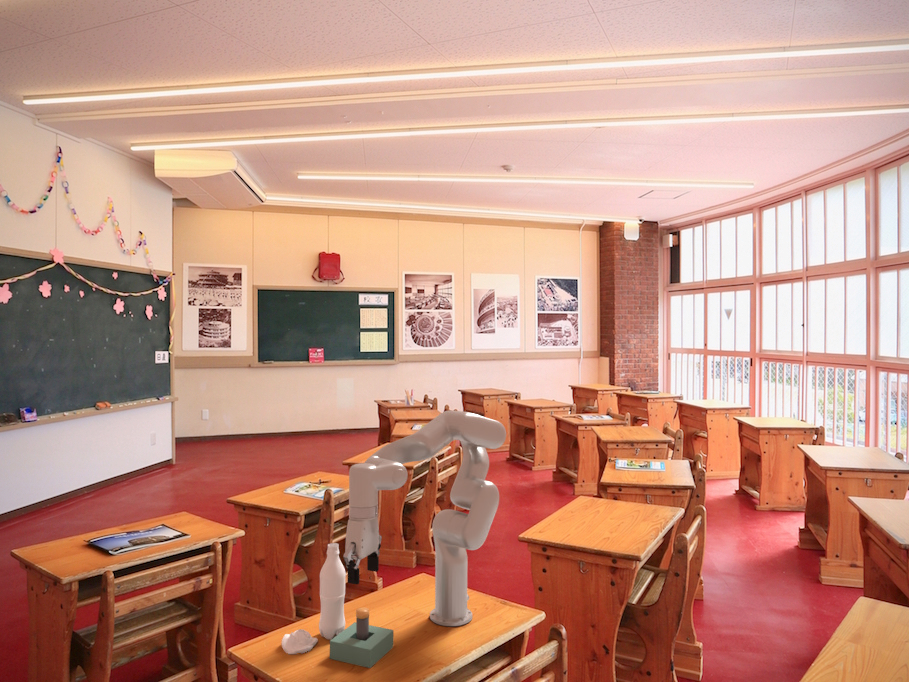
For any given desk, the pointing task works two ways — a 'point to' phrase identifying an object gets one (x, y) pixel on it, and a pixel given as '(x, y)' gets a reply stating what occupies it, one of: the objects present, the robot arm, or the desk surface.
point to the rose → (298, 642)
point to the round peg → (362, 624)
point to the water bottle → (332, 594)
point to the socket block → (361, 646)
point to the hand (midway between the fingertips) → (363, 576)
